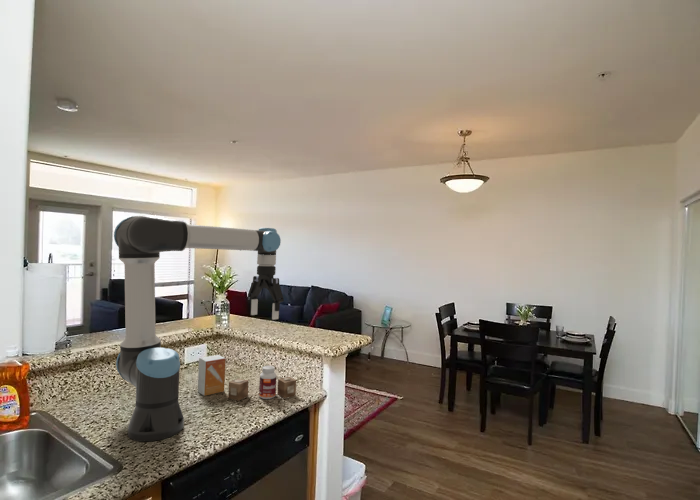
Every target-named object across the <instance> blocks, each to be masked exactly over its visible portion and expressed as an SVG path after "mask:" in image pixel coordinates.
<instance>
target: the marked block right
mask: <svg viewBox="0 0 700 500" xmlns="http://www.w3.org/2000/svg"><path fill="white" fill-rule="evenodd" d="M277 395H278V396H279V397H280V398H282V397H283V398H282V399H284V398H285V399H289V398H293V397H296V396H297V379H296V378H295V379H294V378H293V377H291V376H286V377H282V378H278V379H277ZM288 397H289V398H288Z"/></svg>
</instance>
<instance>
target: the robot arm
mask: <svg viewBox="0 0 700 500" xmlns="http://www.w3.org/2000/svg"><path fill="white" fill-rule="evenodd" d="M113 239H114V243H115V244H116V246H117V247H118V260H120V261H121V262H122V263H123V264H124V307H125V308H124V310H125V312H124V314H125V317H124V318H125V322H124V323H125V338H124V339H123V340H122V341H121V342H120V345H119V346H120V347H119V349H120V350H119V351H120V352H119V353H118V355H117V357H116V361H115V368H116V371H117V372H118V374H119V376H120V377H121V378H122V379H123V380H125V381H126V382H127V383H130V384H131V385H133V386H134V387H135V405H134V406H135V407H134V409H133V412H132V415H131V417H130V420H129V423H128V425H127V426H128V427H127V436H128V438H129V439H131V440H133V441H137V442H155V441H160V440H164V439H168V438H170V437H173V436H174V435H175V436H176V435H177V434H179V433H180V432H181V431H182V430H183V429H184V426H185V425H184V424H185V419H184V413H183V412H182V407H181V406H180V403H179V396H180V395H179V392H180V368H181V361H180V354H179V352H177V351H175V349H172V348H168V347H167V348H166V347H162V343H161V341H162V339H160V337H158V336H157V334H156V290H155V289H156V282H155V281H156V280H155V279H156V277H155V275H156V274H155V270H156V269H155V267H156V266H155V264H156V262H157V261H158V260H159V259H160V256H161V255H160V253H162V252H163V253H164V252H183V251H184V250H185V249H197V250H198V249H199V250H202V249H205V250H223V251H227V250H228V251H229V250H230V251H253V252H257V256H256V257H257V258H256V259H257V260H256V265H257V267H256V275H253V277H252V282H251V285H250V288H249V290H248V294H247V297H248V298H249V299H250V316H255V315H258V308H259V307H258V304H259V303H258V302H259V300H258V299H259V298H258V296H259V295H260V293H261V292H262V290H263V289H266V290H268V291H269V294H270V296H271V298H272V300H273V302H272V308H271V309H272V312H271V320H273V321H274V320H279V318H280V316H279V315H280V310H281V309H280V306H281V303H283V302H285V299H284V296H283V292H282V288H281V285H280V284H281V283H280V278H278V277H275V275H276V271H277V270H276V269H277V268H276V266H275V265H277V264H276V263H277V250H278V249H279V248H280V247H281V241H282V240H281V237H280V234H279V233H278V231H277V229H276V228H273V227H259V228H258V229H257V230H256V229H244V228H235V227H221V226H211V225H200V224H199V225H198V224H188V223H187V222H186V221H184V220H180V219H179V220H178V219H172V218H167V217H162V216H156V215H132V216H131V217H130V216H129V217H127V218H125V219H122V220H121V221H120V222H118V224H117V225H116V227H115V229H114V231H113ZM274 277H275V278H274Z"/></svg>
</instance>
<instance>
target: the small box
mask: <svg viewBox="0 0 700 500" xmlns="http://www.w3.org/2000/svg"><path fill="white" fill-rule="evenodd" d="M225 380H226V357H224V356H222V355H220V354H216V355H209V356H203V357H199V358H198V374H197V392H198V393H199V394H200V395H202V396H204V397H205V396H209V395H213V394H219V393H224V392H225V384H226V383H225Z"/></svg>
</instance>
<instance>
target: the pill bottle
mask: <svg viewBox="0 0 700 500" xmlns="http://www.w3.org/2000/svg"><path fill="white" fill-rule="evenodd" d="M275 370H276V367H275V366H274V365H264V366H262V368H261V371H262V372H261V373H260V375H259V386H258V397H259V398H260V399H262V400H270V399H274V398H275V397H276V393H277V373H276V371H275Z"/></svg>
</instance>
